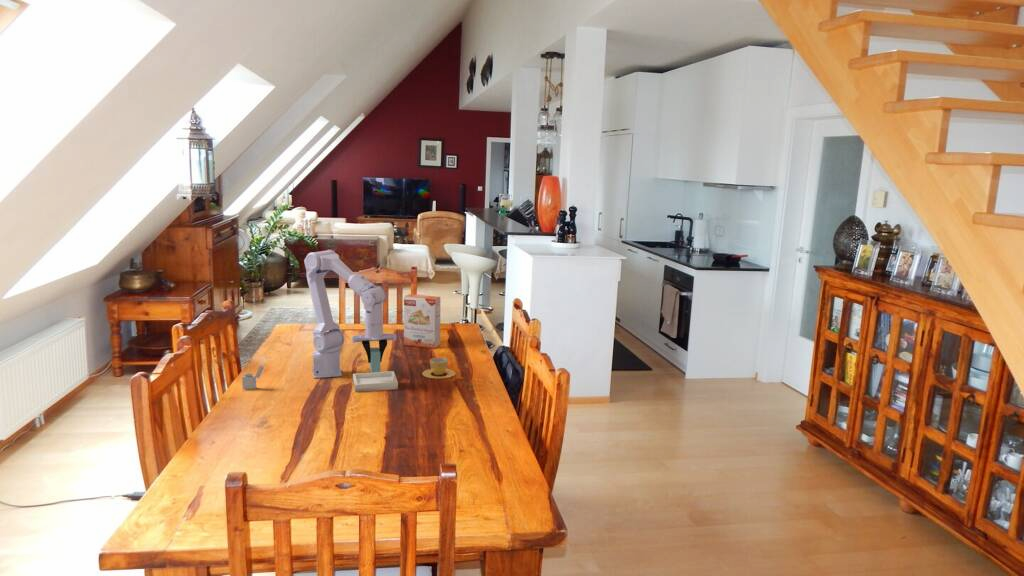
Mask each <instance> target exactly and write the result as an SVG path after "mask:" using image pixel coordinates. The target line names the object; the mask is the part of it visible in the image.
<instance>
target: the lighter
mask: <svg viewBox="0 0 1024 576" xmlns="http://www.w3.org/2000/svg"><path fill="white" fill-rule="evenodd" d="M265 367H266V366H265V365H263V364H260V366H259V367H258V370H257V372H256V374H254V375H253V372H247V373H244V375H242V377H241V385H242V390H243V389H249V390H256V389H257V379H259V378H260V377H261V375H262V373H263V370H264V369H265Z"/></svg>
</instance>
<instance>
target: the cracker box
mask: <svg viewBox="0 0 1024 576" xmlns="http://www.w3.org/2000/svg"><path fill="white" fill-rule="evenodd" d="M403 345H404V346H409V347H417V348H425V349H426V348H427V349H433V350H435V349H436V348H438V347H439V346H441V296H434V295H425V294H424V295H423V294H413V293H409V294H408V295H405V296H403Z"/></svg>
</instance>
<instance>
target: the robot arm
mask: <svg viewBox="0 0 1024 576" xmlns="http://www.w3.org/2000/svg"><path fill="white" fill-rule="evenodd" d="M303 262H304V267H305V270H306V280H307V284H308V288H309V292H310V298H311V302H312V306H313V311H314V314H315V319H316V324H317V325H316V326H315V328H314V330H313V331H312V334H313V340H312V343H313V346H314V348H315V350H313V351H312V365H313V366H312V369H311V370H312V372H313V378H314V379H321V378H336V377H342V369H341V363H340V362H341V360H340V359H341V357H340V356H341V355H340V350H341V348H342V345H343V344H344V342H345V336H344V334H343V332H342V330H341V328H340V325H339V324H338V323H336V322H335V321H334V320H333V314H332V310H331V304H330V300H329V296H328V293H327V289H326V283H325V280H324V279H325V276H326V275H327V274H328V273H329V272H330V271H333V272H334V273H336V275H338V276H340V277H341V278H342V279H343V280H345V281H346V282H348V283H347V284H348V287H349V288H350V289H351V290H352V291H353V292H354V293H356V294H357V295H358V296H359V297H360V299H361V303H362V304H363V309H364V313H365V315H364V316H365V318H364V319H365V334H359V335H352V336H351V337H352V339H351V341H352V343H353V344H355V343H361V345H362V347H363V349H364V351H365V354H366V357H367V362H368V364H370V363H371V358H370V348H371V344H370V343H371V342H378V347H379V350H380V363H382V360H383V356H384V353H385V350H386V348H387V346H388V341H393V342H395V341H397V333H384V319H383V317H384V315H383V313H384V311H383V308H384V305H383V304H384V302H385V301H386V299H387V293H386V290H385V289H384V288H383V286H380V285H376V284H374V283H373V282H370V280H368V279H367V278H366V277H365V275H364V274H363V273H362V274H360V273H355V272H353V271H352V269H350V268H349V267H348V266H347V264H346V263H344V262H343V260H341V259H340V255H339V254H338V253H336V252H335V251H334V250H332V249H327V250H321V251H315V252H309V253H307V255H306V257H305V258H304V260H303Z"/></svg>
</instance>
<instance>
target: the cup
mask: <svg viewBox="0 0 1024 576" xmlns="http://www.w3.org/2000/svg"><path fill="white" fill-rule="evenodd" d="M448 361H449V360H448V358H446V357H434V358H433V357H432V358H431V359H429V365H430V369H429V368H428V369H426V370H424V371H422V373H421V374H422V376H423V377H425V378H428V379H435V380H436V379H438V380H440V379H450V378H452V377H454V376H455V375H456V371H454V370H452V369H450V368H448V363H449V362H448ZM446 372H447V373H448V374H447V373H446ZM432 373H433V374H434V375H432ZM445 373H446V376H445V375H444V374H445Z"/></svg>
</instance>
